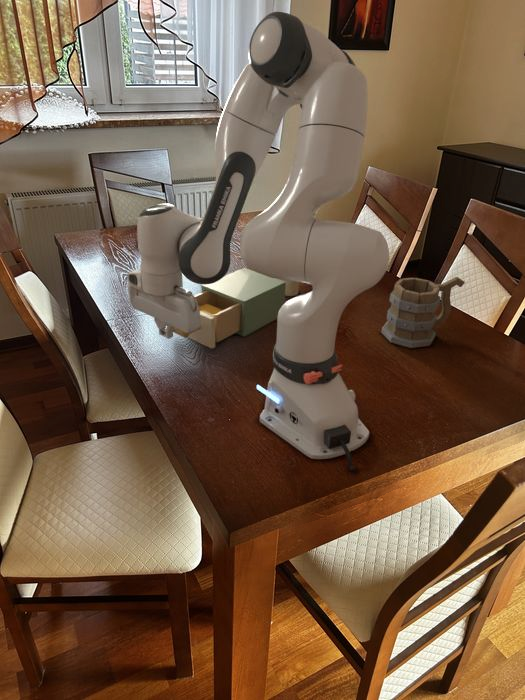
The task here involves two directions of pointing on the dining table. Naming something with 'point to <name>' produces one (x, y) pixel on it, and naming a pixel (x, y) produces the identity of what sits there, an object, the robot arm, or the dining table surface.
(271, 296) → the cabinet
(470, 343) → the dining table surface
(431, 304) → the tankard
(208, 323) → the drawer
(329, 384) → the robot arm
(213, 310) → the matchbox
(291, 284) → the candle
